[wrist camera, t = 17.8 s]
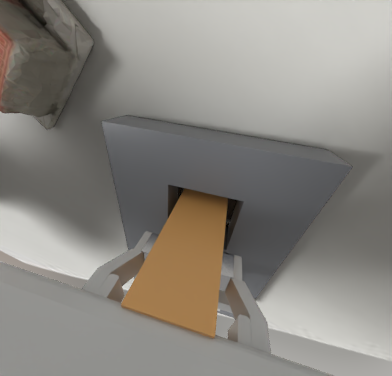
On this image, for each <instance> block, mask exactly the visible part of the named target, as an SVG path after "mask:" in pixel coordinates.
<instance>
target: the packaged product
mask: <svg viewBox="0 0 392 376" xmlns="http://www.w3.org/2000/svg"><path fill="white" fill-rule="evenodd" d="M93 44H94V42H93V39H92V38H91V36H90V35H89V34H88V32H87V31H86V30H85V29H84V27H83V26H82V25H81V24H80V23H79V21H78V20H77V19H76V18H75V16H74V15H73V14H72V13H71V12H70V10H69V9H68V8H67V7H66V5H65V4H64V3H63V2H62V1H61V0H0V111H1V112H2V113H23V114H27V115H32V116H33V117H34V118H35V119H36V120H37V121H38V122H39V123H40V124H41V125H42V126H44V127H45V128H46V129H48V130H50V129H51V128H53V127H54V125H55V124H56V122H57V120H58V118H59V116H60V114H61V112H62V110H63V108H64V106H65V104H66V102H67V100H68V98H69V96H70V94H71V91H72V89H73V86H74V84H75V82H76V80H77V78H78V77H79V74H80V72H81V70H82V68H83V66H84V64H85V62H86V59H87V57H88V55H89V53H90V51H91V49H92V47H93Z"/></svg>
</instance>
